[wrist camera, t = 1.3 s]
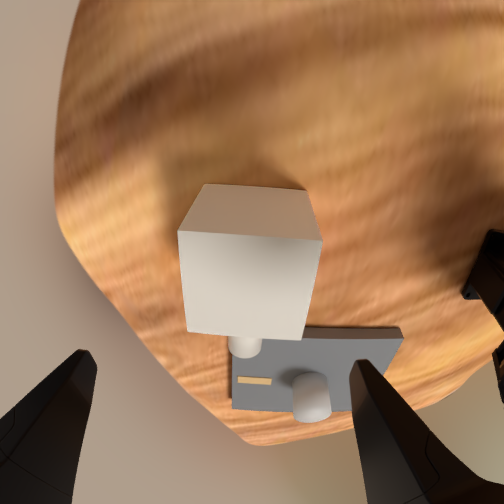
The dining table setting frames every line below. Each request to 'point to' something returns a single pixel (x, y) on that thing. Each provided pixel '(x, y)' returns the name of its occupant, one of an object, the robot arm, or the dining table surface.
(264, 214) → the cream rectangular block
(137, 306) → the dining table surface
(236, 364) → the grey slotted slab
